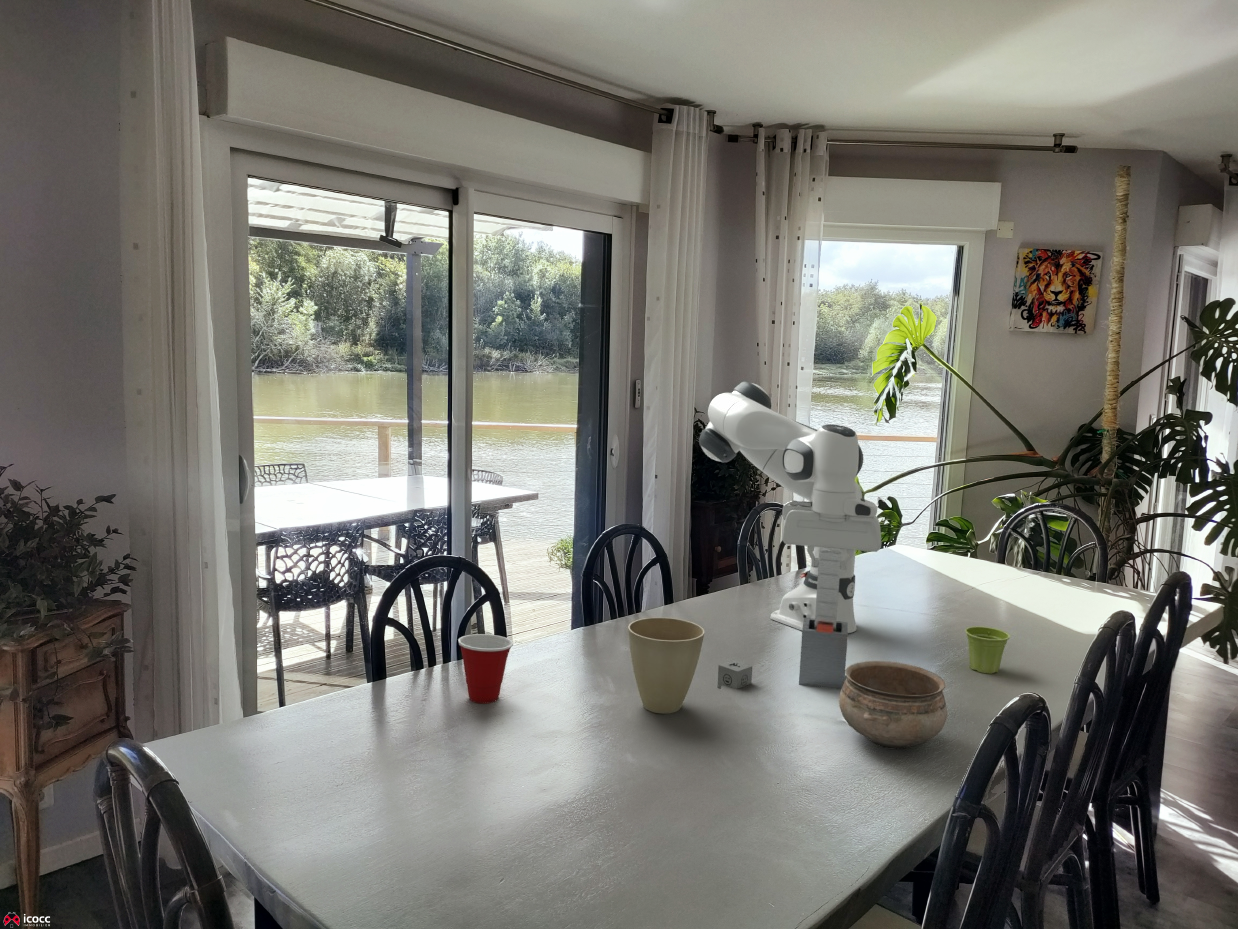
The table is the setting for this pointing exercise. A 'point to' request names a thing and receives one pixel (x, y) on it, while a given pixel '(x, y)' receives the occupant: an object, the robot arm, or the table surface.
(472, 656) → the plastic cup
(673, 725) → the table surface
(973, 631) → the plant pot
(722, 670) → the dice cube
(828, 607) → the column
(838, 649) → the sleeve
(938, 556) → the table surface
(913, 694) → the cooking pot
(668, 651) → the plant pot
